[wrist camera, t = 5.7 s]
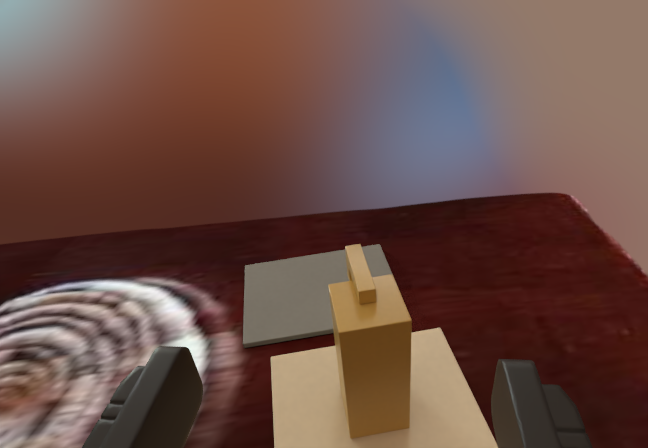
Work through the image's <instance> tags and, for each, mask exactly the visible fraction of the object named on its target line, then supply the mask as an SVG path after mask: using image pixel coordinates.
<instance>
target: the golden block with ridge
mask: <svg viewBox="0 0 648 448" xmlns="http://www.w3.org/2000/svg"><path fill="white" fill-rule="evenodd" d="M345 252H346V263H347V275H348V278H349V281H347V282H340V283H334V284H329V285H328V288H329V296H330V305H331V313H332V321H333V330H334V338H335V347H336V355H337V363H338V372H339V380H340V388H341V393H342V399H343V404H344V409H345V414H346V419H347V424H348V429H349V434H350V438H351V439H352V438H357V437H363V436H368V435H374V434H379V433H384V432H390V431H395V430H401V429H406V428H409V427H410V383H411V332H412V320H411V317H410V315H409V313H408V310H407V308H406V306H405V303H404V301H403V298H402V296H401V294H400V291H399V289H398V286H397V284H396V282H395V279H394V277H393V275H392V274H390V275H383V276H377V277H372V276H371V273H370V270H369V267H368V265H367V262H366V259H365V256H364V253H363V250H362V248H361V245H360V244H357V245H351V246H345Z"/></svg>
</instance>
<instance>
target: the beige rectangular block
mask: <svg viewBox="0 0 648 448" xmlns="http://www.w3.org/2000/svg"><path fill="white" fill-rule="evenodd" d="M271 375H272V400H273V424H274V448H498V446H497V444H496V442H495V439H494V437H493V435H492V433H491V431H490V429H489V427H488V425H487V423H486V421H485V419H484V417H483V415H482V413H481V411H480V409H479V407H478V404H477V402H476V400H475V398H474V396H473V394H472V392H471V390H470V388H469V386H468V384H467V382H466V380H465V378H464V376H463V374H462V371H461V369H460V367H459V365H458V363H457V361H456V359H455V357H454V355H453V353H452V351H451V349H450V347H449V345H448V343H447V341H446V338H445V336H444V334H443V332H442V330H441V328H436V329H430V330H424V331H418V332H412V333H411V383H410V427H409V428H406V429H401V430H395V431H390V432H384V433H379V434H374V435H368V436H363V437H357V438H352V439H351V438H350V434H349V429H348V424H347V419H346V414H345V409H344V404H343V399H342V393H341V388H340V380H339V372H338V363H337V355H336V347H335V346H331V347H325V348H319V349H313V350H308V351H302V352H296V353H290V354H284V355H279V356H273V357H271Z"/></svg>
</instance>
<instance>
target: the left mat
mask: <svg viewBox="0 0 648 448" xmlns="http://www.w3.org/2000/svg"><path fill="white" fill-rule="evenodd" d="M361 248H362V250H363V253H364V256H365V259H366V262H367V265H368V267H369V270H370V273H371V276H372V277H377V276H383V275H390V274H392V272H391V270H390V268H389V265H388V263H387V260H386V258H385V256H384V253H383V251H382V248H381V246H380V244H378V245H372V246H366V247H361ZM347 281H349V278H348V275H347V263H346V252H345V250H340V251H334V252H328V253H322V254H315V255H309V256H303V257H296V258H290V259H284V260H277V261H271V262H265V263H258V264H252V265H246V266H245V287H244V324H243V346H244V348H248V347H254V346H259V345H265V344H271V343H277V342H283V341H289V340H295V339H301V338H307V337H312V336H318V335H324V334H330V333H334V330H333V321H332V313H331V305H330V296H329V288H328V285H329V284H334V283H340V282H347Z"/></svg>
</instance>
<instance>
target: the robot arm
mask: <svg viewBox="0 0 648 448" xmlns="http://www.w3.org/2000/svg"><path fill="white" fill-rule="evenodd" d="M202 395H203V385H202V381H201V378H200V376H199V373H198V371H197V368H196V366H195V363H194V360H193V358H192V355H191V353H190V351H189V349H188V348H187V347H165V346H160V347H158V348H156V349H155V351H154V352H153V354H152V355H151V357H150V359H149V361H148V362H147V364H146V366H138V367H136V368H135V369H134V370H133V371H132V372H131V373H130V374H129V375H128V376H127V377H126V378H125V379H124V380H123V381H122V382H121V383H120V385H119V387H118V388H117V390H116V392H115V393H114V395H113V397H112V398H111V400H110V404H108V405H107V407H106V408H105V410H104V412H103V413H102V415H101V419H100V420H98V422H97V423H96V425H95V427H94V428H93V430H92V432H91V433H90V435H89V437H88V438H87V440H86V442H85V443H84V445H83V447H82V448H183V447H184V444H185V442H186V439H187V437H188V434H189V432H190V429H191V427H192V424H193V422H194V419H195V417H196V415H197V412H198V410H199V407H200V404H201V401H202ZM491 411H492V420H493V426H494V431H495V435H496V440H497V445H498V448H592V445H591V442H590V440H589V437H588V435H587V434H586V432H585V427H584V424H583V422H582V419H581V417H580V414H579V412H578V409H577V406H576V405H575V404H574V402H573V401H572V400H571V399H570V398H569V397H568V395H567V394H566V393H565V392H564V391H563V390H562V388H561V387H560V386H559V385H544V384H541V381H540V378H539V375H538V372H537V369H536V366H535V364H534V362H533V361H532V360H511V359H499V360H498V363H497V368H496V374H495V380H494V386H493V391H492V398H491Z"/></svg>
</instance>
